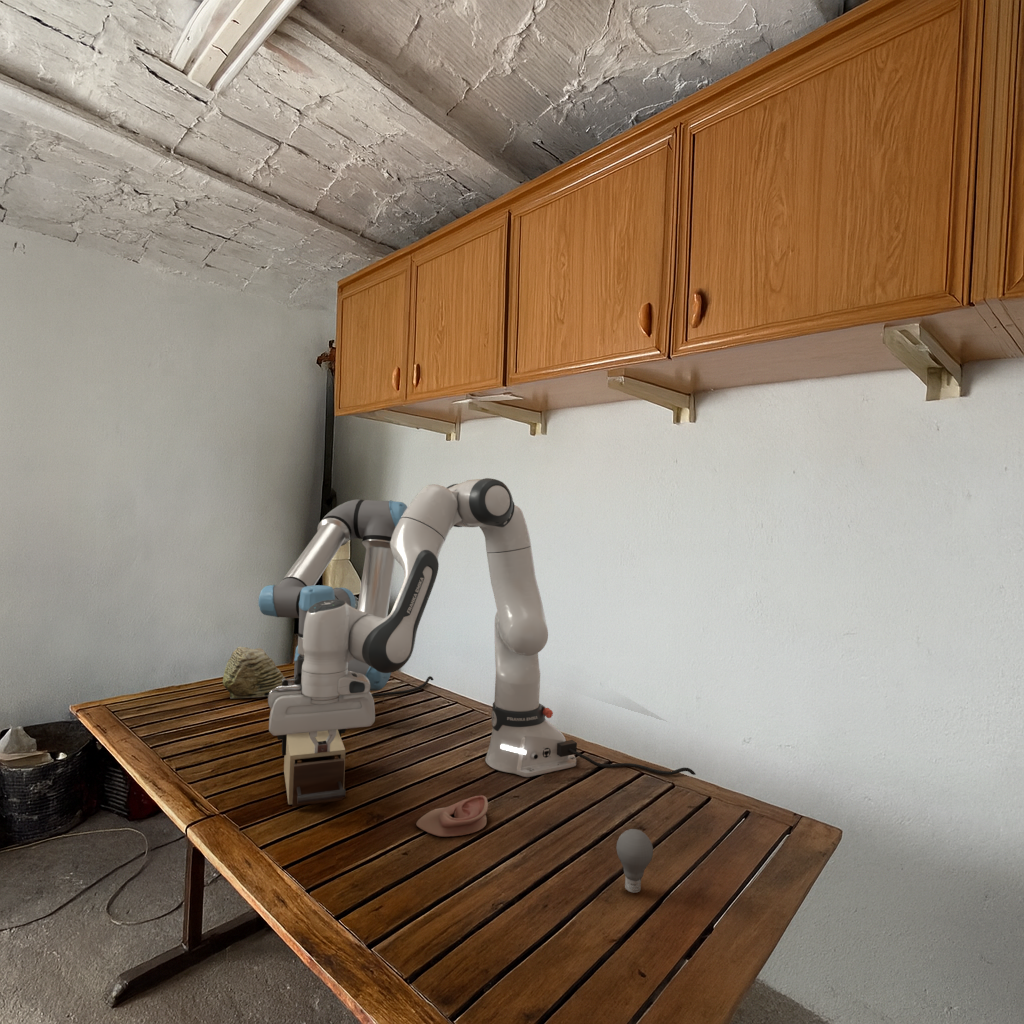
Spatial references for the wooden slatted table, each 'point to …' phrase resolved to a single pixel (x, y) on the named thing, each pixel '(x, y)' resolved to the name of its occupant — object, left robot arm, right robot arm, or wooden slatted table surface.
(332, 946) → the wooden slatted table surface
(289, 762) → the cabinet
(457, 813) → the anatomical model
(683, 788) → the wooden slatted table surface
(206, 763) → the wooden slatted table surface
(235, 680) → the fossil
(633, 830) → the light bulb
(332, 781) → the drawer
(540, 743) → the right robot arm
